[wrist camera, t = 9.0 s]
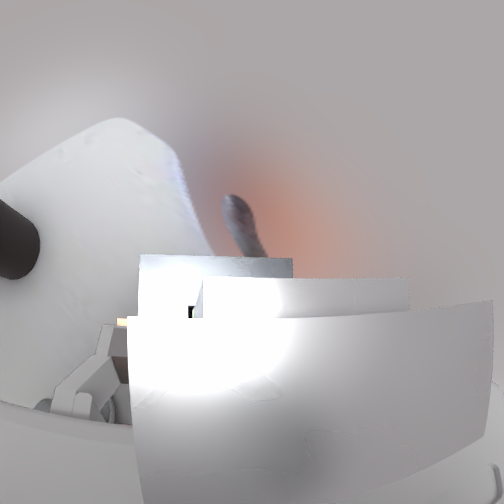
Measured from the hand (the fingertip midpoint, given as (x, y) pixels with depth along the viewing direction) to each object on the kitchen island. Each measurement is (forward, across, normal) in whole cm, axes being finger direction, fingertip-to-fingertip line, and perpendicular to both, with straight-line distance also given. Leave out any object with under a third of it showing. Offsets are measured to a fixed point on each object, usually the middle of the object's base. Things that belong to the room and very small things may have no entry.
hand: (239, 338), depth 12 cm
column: (+8, 0, +9) cm, 12 cm away
